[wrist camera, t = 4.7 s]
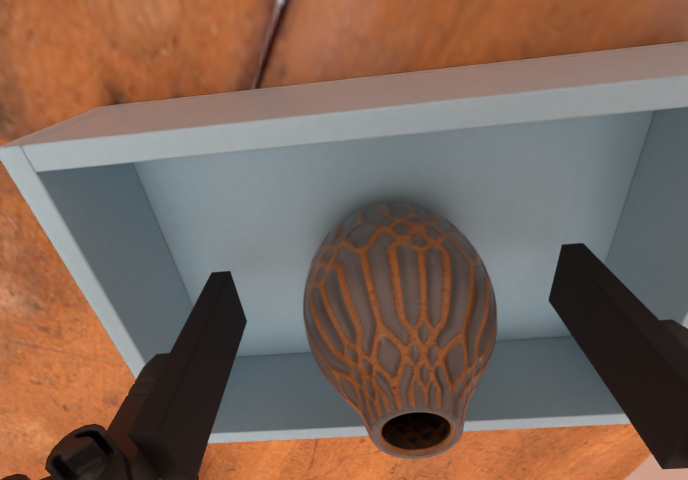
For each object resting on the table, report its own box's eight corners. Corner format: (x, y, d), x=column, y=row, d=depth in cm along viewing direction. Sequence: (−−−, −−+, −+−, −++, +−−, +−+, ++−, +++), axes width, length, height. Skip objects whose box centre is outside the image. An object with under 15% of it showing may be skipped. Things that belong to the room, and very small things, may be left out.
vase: (436, 151, 15) (525, 301, 7) (481, 277, 18) (575, 470, 10) (283, 217, 16) (228, 394, 9) (350, 321, 20) (351, 516, 12)
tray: (689, 40, 13) (854, 57, 9) (588, 337, 21) (649, 423, 16) (97, 106, 14) (-9, 148, 10) (209, 361, 22) (175, 445, 18)
